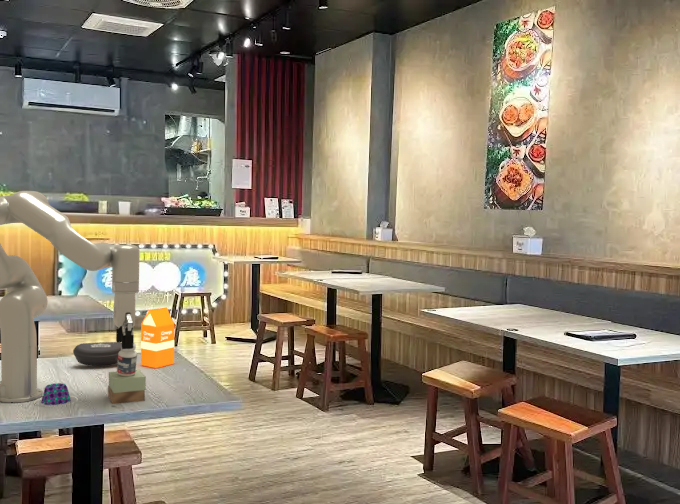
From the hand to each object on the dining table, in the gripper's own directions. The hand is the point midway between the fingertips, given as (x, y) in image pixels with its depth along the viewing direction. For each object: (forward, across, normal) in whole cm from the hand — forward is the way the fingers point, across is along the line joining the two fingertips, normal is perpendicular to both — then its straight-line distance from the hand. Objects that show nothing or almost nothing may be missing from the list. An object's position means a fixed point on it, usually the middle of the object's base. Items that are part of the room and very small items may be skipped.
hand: (124, 345), depth 209 cm
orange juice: (+17, -41, +18) cm, 48 cm away
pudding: (+17, -4, -18) cm, 25 cm away
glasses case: (+17, -47, 0) cm, 50 cm away
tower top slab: (+13, 0, +1) cm, 13 cm away
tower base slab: (+17, 0, +1) cm, 17 cm away
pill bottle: (+8, 0, 0) cm, 9 cm away
